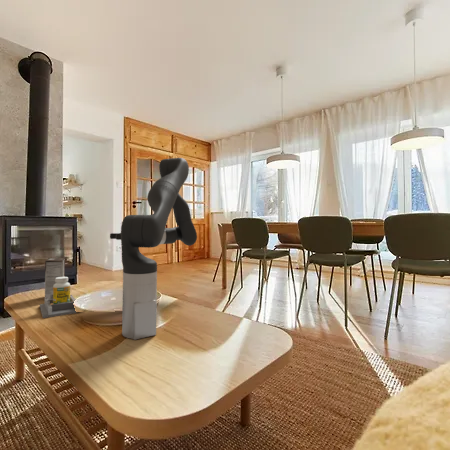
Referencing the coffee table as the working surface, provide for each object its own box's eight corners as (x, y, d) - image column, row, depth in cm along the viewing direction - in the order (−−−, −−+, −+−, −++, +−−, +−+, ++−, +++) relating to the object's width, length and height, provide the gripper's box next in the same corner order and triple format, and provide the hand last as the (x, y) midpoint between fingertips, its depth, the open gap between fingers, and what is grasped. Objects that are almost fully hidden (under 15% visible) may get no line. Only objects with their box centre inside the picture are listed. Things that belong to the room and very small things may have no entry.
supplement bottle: (67, 301, 105) (68, 275, 105) (72, 304, 101) (72, 277, 101) (51, 304, 101) (51, 277, 101) (54, 307, 97) (55, 279, 97)
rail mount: (83, 311, 98) (83, 303, 98) (42, 318, 91) (43, 308, 91) (75, 301, 111) (76, 294, 111) (39, 306, 103) (39, 298, 103)
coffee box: (47, 295, 119) (48, 258, 120) (64, 294, 122) (65, 257, 122) (43, 301, 111) (44, 260, 111) (62, 299, 114) (63, 259, 114)
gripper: (146, 227, 125) (108, 226, 115) (159, 227, 113) (118, 226, 104) (146, 243, 125) (108, 245, 115) (159, 245, 113) (118, 247, 104)
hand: (113, 236), depth 109 cm, fingers open, 8 cm apart
